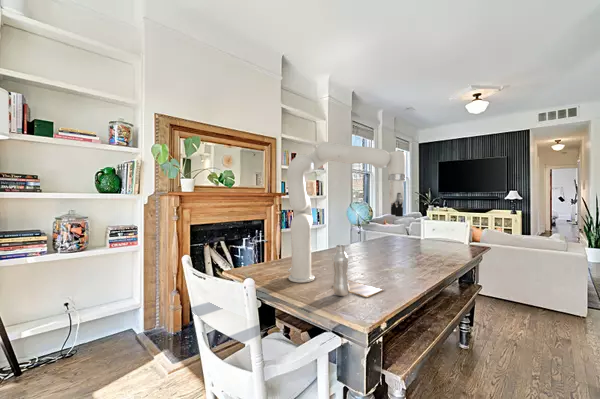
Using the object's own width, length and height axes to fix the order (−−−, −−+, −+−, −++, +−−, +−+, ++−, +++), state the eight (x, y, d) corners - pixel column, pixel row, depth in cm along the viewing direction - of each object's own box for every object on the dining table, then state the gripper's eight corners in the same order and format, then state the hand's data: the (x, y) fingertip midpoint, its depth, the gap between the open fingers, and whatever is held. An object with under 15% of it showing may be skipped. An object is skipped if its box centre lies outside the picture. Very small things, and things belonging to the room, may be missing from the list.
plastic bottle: (345, 299, 110) (345, 248, 110) (329, 295, 114) (329, 246, 113) (351, 294, 116) (351, 245, 115) (336, 291, 119) (336, 244, 119)
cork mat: (332, 286, 125) (332, 285, 125) (349, 281, 133) (349, 280, 133) (366, 297, 111) (366, 296, 111) (383, 290, 119) (383, 289, 119)
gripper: (385, 179, 139) (385, 214, 139) (392, 177, 122) (391, 217, 122) (400, 179, 138) (400, 214, 138) (410, 177, 121) (410, 217, 121)
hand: (396, 215), depth 130 cm, fingers open, 9 cm apart
